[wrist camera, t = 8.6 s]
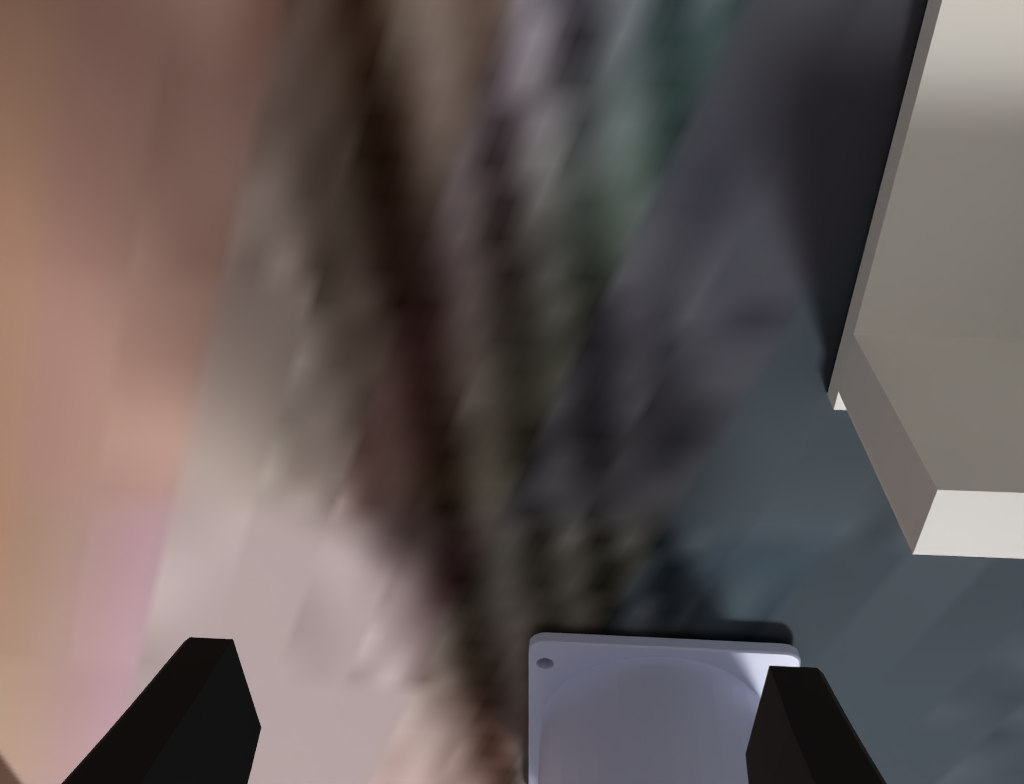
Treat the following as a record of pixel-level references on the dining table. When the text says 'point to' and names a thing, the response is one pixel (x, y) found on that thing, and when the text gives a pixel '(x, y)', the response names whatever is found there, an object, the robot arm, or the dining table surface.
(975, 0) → the cleat board
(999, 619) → the dining table surface
